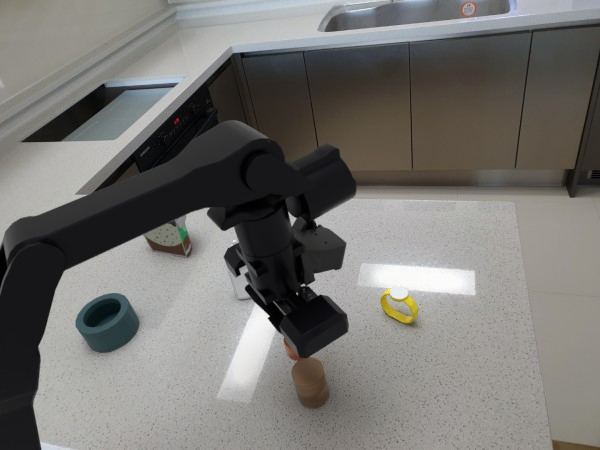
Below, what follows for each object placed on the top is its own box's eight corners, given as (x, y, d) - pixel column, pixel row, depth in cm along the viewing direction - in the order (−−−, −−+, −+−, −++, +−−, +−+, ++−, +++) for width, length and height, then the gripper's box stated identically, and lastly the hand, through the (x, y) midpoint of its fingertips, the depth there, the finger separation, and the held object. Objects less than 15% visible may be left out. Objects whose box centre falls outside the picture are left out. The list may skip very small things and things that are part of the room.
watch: (378, 315, 74) (375, 290, 70) (387, 304, 75) (385, 278, 72) (412, 331, 70) (411, 305, 67) (421, 319, 72) (420, 293, 68)
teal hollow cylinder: (99, 361, 76) (86, 342, 73) (81, 333, 82) (68, 315, 79) (147, 328, 80) (136, 309, 77) (126, 304, 86) (115, 285, 83)
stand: (312, 414, 62) (306, 391, 59) (291, 394, 65) (284, 372, 62) (335, 392, 64) (330, 369, 61) (314, 374, 67) (308, 351, 64)
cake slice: (209, 239, 98) (195, 201, 92) (193, 259, 94) (177, 220, 88) (164, 232, 103) (147, 195, 97) (147, 250, 99) (128, 213, 93)
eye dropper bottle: (263, 300, 81) (247, 249, 74) (233, 300, 82) (214, 250, 75) (268, 282, 84) (253, 232, 77) (239, 282, 86) (222, 233, 78)
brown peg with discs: (298, 365, 58) (287, 327, 53) (282, 351, 60) (269, 313, 55) (316, 349, 59) (307, 310, 55) (300, 336, 61) (289, 298, 57)
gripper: (384, 247, 44) (392, 348, 53) (286, 175, 58) (307, 266, 67) (286, 304, 40) (313, 402, 50) (206, 213, 54) (239, 304, 63)
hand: (293, 334), depth 57 cm, fingers closed on brown peg with discs, 2 cm apart
